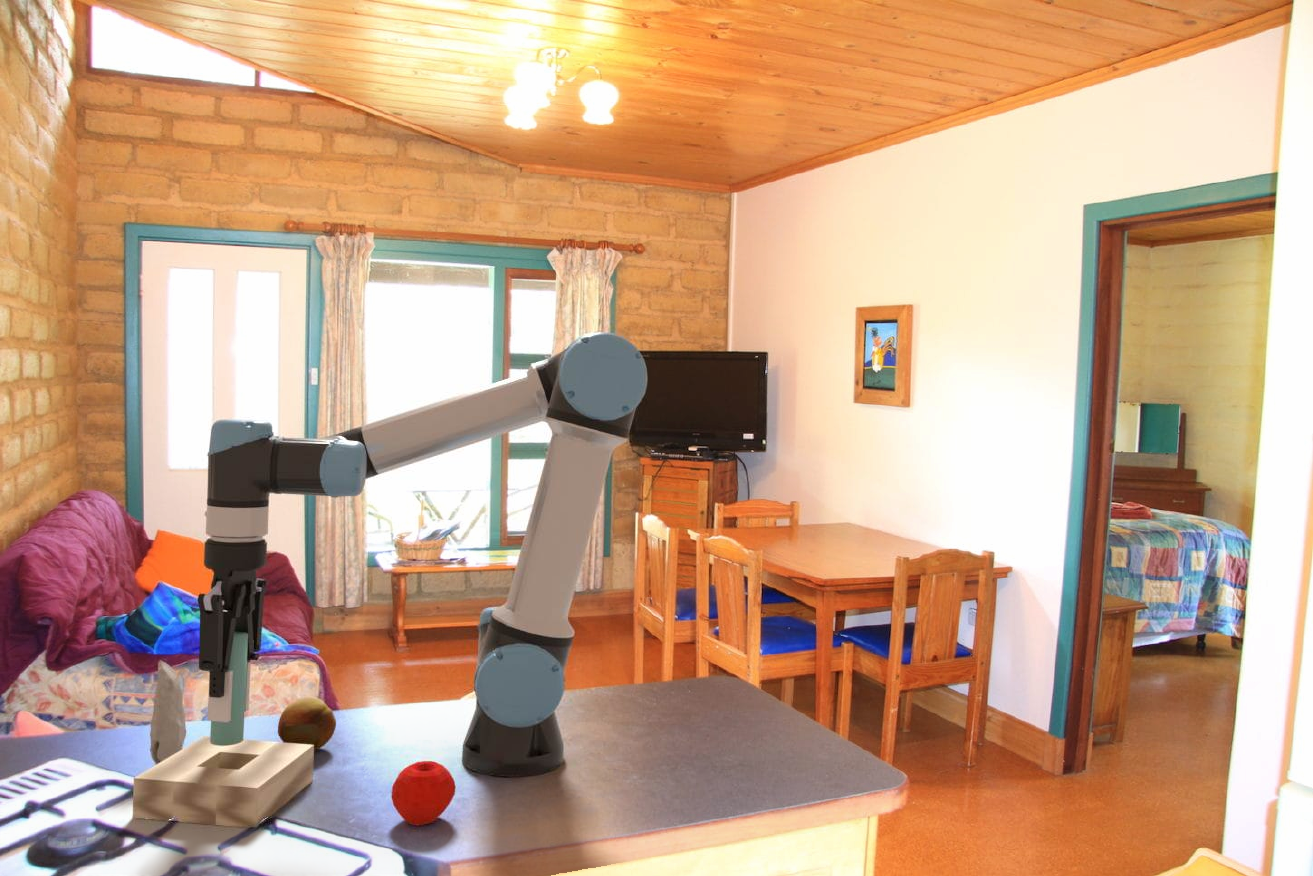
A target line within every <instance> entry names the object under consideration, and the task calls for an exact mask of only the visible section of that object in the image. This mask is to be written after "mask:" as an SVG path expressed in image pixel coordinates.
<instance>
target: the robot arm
mask: <svg viewBox="0 0 1313 876" xmlns="http://www.w3.org/2000/svg"><path fill="white" fill-rule="evenodd" d="M647 369H648V368H647V365H646V361H645V359H644V357H643V355H642V354H641V352H640V350H639V349H638V348H637V347H636V346H635V344H634V343H632V342H631V341H630V340H629V339H627V338H626V337H623V336H622V335H620V334H616V333H613V332H605V331H602V330H601V331H594V332H593V331H592V332H588V333H585V334H583V335H581V336H579V337H577V338H576V339H575V340H574V341H572V342H571V343H570V344H569V345H568V346H567V348H566V349H564V350H562V351H560V352H558V353H557V354H555V355H553V356H551V357H548V358H545V359H542V360H539V361H537V362H534V363H531V364H530V366H529V367H528V369H527V371H525V373H522V374H519V375H515V376H513V377H509V378H506V379H503V380H500V381H496V382H493V383H491V384H488V385H484V386H481V387H479V388H475V389H472V390H469V391H466V392H463V393H460V394H457V395H453V396H450V397H448V398H444V399H441V400H438V401H435V402H432V403H429V404H425V405H423V406H419V407H417V408H413V409H410V410H407V411H404V412H401V413H398V414H394V415H391V416H388V417H386V418H382V419H380V420H375V421H373V422H370V423H367V424H364V425H362V426H358V427H355V428H351V429H348V430H345V431H342V432H338V433H336V434H331V435H329V436H325V437H320V438H314V437H313V438H308V437H307V438H305V437H303V438H302V437H284V436H279V435H278V436H277V435H274V433H275V432H273V425H272V423H270V422H269V421H266V420H254V419H253V420H252V419H231V418H230V419H229V418H228V419H225V418H224V419H218V420H216V421H215V422H214V423H213V424H212V425H211V429H210V439H209V446H208V447H209V448H208V452H207V458H208V460H207V465H208V466H207V492H206V494H207V497H206V511H205V512H204V516H205V534H206V535H207V536H209V538H207V539H206V540H205V541H204V548H203V549H204V551H203V552H204V554H203V566H204V567H205V568H206V569H208V570H211V571H212V573H213V576H212V580H211V583H210V590H209V592H207V593H199V594H198V595H197V604H198V609H199V635H198V636H199V639H198V641H199V643H198V644H199V645H198V648H199V649H198V669H199V670H201V671H203V672H204V671H205V672H208V673H209V680H208V697H207V699H208V703H207V721H208V722H211V721H219V722H229V721H231V700H232V678H233V671H232V670H229V665H230V658H231V651H232V644H233V637H234V631H238V632H246V633H248V648H247V670H246V691H245V713H246V712H247V711H249V707H250V687H251V686H250V685H251V666H252V665H251V663H252V662H251V661H258V660H259V658H260V653H259V652H260V651H261V648H262V634H263V633H262V632H263V618H264V617H263V616H264V601H265V593H266V590H267V585H268V580H267V578H266V579H263V578H258V577H257V576H258V575H257V570H260V569H263V568H264V567H265V566H266V564H267V549H268V542H267V541H266V539H265V538H264V537H265V536H266V535H268V533H269V512H270V510H269V508H270V507H269V505H270V500H269V499H270V494H274V495H282V494H285V495H298V496H299V495H302V496H319V497H320V496H321V497H331V498H335V499H336V498H337V499H338V497H340V498H341V497H358V496H360V494H362V493H363V491H364V487H365V483H366V480H368V479H370V478H373V477H375V476H378V475H381V474H384V473H388V472H390V471H394V470H397V469H399V468H400V469H401V468H403V467H406V466H408V465H412V464H415V463H417V462H418V463H419V462H421V461H425V460H426V459H427V460H428V459H430V458H434V457H436V456H440V455H443V454H445V453H448V452H452V451H456V450H458V449H461V448H464V447H468V446H470V445H471V446H472V445H474V444H476V443H480V442H482V441H485V440H488V439H491V438H495V437H498V436H501V435H504V434H506V433H510V432H513V431H517V430H520V429H523V428H526V427H529V426H532V425H535V424H539V423H541V422H544V423H546V424H547V426H548V427H549V428H550V430H551V436H550V437H551V438H550V442H549V446H548V447H547V448H548V449H547V452H546V456H545V460H544V464H543V467H542V470H541V471H542V472H541V475H540V478H539V482H538V485H537V489H536V493H535V496H534V499H533V504H532V508H531V511H530V515H529V519H528V523H527V525H526V530H525V534H524V538H523V541H522V544H521V548H520V551H519V554H518V559H517V564H516V567H515V570H514V574H513V578H512V580H511V581H512V582H511V584H510V588H509V592H508V595H507V600H506V602H505V603H503V604H502V605H500V606H490V607H486V608H484V609H483V610H482V611H481V612H480V616H479V623H478V625H477V629H478V645H477V647H478V650H477V659H476V660H477V661H476V667H475V668H476V671H475V673H474V678H473V685H474V687H473V691H474V693H475V697H476V698H475V699H476V702H475V703H476V705H475V710H474V713H473V715H472V718H471V721H470V724H469V727H468V729H467V732H466V734H465V737H464V740H463V743H462V751H461V753H462V754H461V755H462V758H461V761H462V764H463V765H464V766H465V767H467V768H468V769H470V770H472V771H474V772H478V773H480V774H484V775H489V776H495V777H496V776H497V777H526V776H534V775H539V774H544V773H547V772H550V771H552V770H554V769H556V768H558V767H559V766H560V765H561V764H562V763H563V762H562V760H563V761H564V751H565V749H564V747H565V745H564V741H563V737H562V733H561V729H560V726H559V723H558V719H557V716H556V711H555V710H557V708H558V706H559V704H560V703H561V700H562V698H563V695H564V693H565V689H566V688H565V687H566V684H565V682H566V677H565V670H566V666H567V663H568V659H569V656H570V652H571V648H572V644H573V641H574V636H575V633H576V632H575V630H574V628H573V626H572V625H571V622H570V621H569V613H570V609H571V605H572V602H573V598H574V595H575V591H576V587H577V583H578V580H579V576H580V573H581V570H582V569H581V568H582V566H583V565H582V564H583V561H584V558H585V554H586V550H587V547H588V543H589V539H590V536H591V532H592V529H593V525H594V520H595V517H596V513H597V511H598V506H599V503H600V499H601V496H602V492H603V488H604V485H605V480H606V478H607V473H608V469H609V465H610V463H611V458H612V455H613V451H614V450H615V449H616V448H617V447H619V446H621V445H624V443H626V442H627V441H628V438H629V434H630V430H631V426H632V423H633V421H634V416H635V413H636V409H637V407H638V406H639V404H640V403H641V402H642V399H643V398H644V396H645V394H646V391H647V387H648V370H647ZM561 762H562V763H561ZM560 763H561V764H560ZM559 764H560V765H559ZM558 765H559V766H558ZM557 766H558V767H557ZM555 767H556V768H555ZM553 768H554V769H553ZM551 769H552V770H551ZM549 770H550V771H549Z"/></svg>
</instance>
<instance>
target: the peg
mask: <svg viewBox="0 0 1313 876" xmlns="http://www.w3.org/2000/svg"><path fill="white" fill-rule="evenodd" d="M247 648H248V633H246V632H238V631H234V637H233V644H232V651H231V658H230V665H229V670H232V671H233V678H232V700H231V721H229V722H219V721H210V736H209V737H210V743H211V744H213V745H218V746H228V745H234V744H238V743H240V742H242V741H243V739H244V732H245V731H244V730H245V729H244V728H245V713H246V712H245V691H246V670H247Z"/></svg>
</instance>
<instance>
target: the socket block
mask: <svg viewBox="0 0 1313 876" xmlns="http://www.w3.org/2000/svg"><path fill="white" fill-rule="evenodd" d="M314 753H315V751H314V745H309V744H296V743H283V741H282V742H281V741H279V742H278V741H267V740H255V739H244V738H243V741H242V742H240V743H238V744H234V745H228V746H218V745H213V744H211V743H210V736H202V737H201V738H199V739H197V740H195V741H193V742H192V743H191V744H189V745H186V746H185V747H183V748H182V750H180V751H179V752H177V753H175V754H174V755H172V756H170V757H168V758H167V759H165V760H163V761H162V762H160V763H158V764H157V765H156V764H155V765H153V766H152V767H150V768H148V769H147V770H145V771H143V772H141V773H140V774H138V775H136V776H135V777H134V778H133V791H132V793H133V795H132V819H140V818H142V819H141V820H151V819H155V820H154V821H163V820H169V819H172V818H177V819H178V821H179V822H178V823H186V824H187V823H189V824H201V825H213V826H223V827H225V826H226V827H234V828H235V827H237V828H245V829H247V828H248V829H250V828H249V827H256V826H257V825H258V824H259V823H260V822H261V821H262V820H263V819H265V818H267V817H269V816H270V817H271V816H273V815H274V814H275V813H277V812H278V811H279V810H280V809H281V808H282V807H283V806H284V805H286V804H287V803H288V802H290V800H291V799H294V797H295V796H296V795H297V794H299V793H300V792H301V791H302V790H304V788H306V787H307V786H308V785H309V784H311V783H312V782H313V781H314V762H315V761H314V758H315V755H314ZM270 817H269V818H270ZM143 818H145V819H143ZM146 818H147V819H146Z"/></svg>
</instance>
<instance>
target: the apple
mask: <svg viewBox="0 0 1313 876" xmlns="http://www.w3.org/2000/svg"><path fill="white" fill-rule="evenodd" d="M456 789H457V787H456V782H455V780H454V777H453V775H452V774H451V771H449V769H447V768H446V766H444V765H443V764H441V763H438V762H437V761H431V760H423V761H417V762H415V763H412V764H409V765H408V766H406V767H405V768H403V769H402V770H401V771H400V772H399V773H398V775H397V777H396V779H395V780H394V783H393V785H392V787H391V801H392V804H393V807H394V808H395V810H396V811H397V813H398V814H399V816H400V817H401V818H402V819H403V820H404V821H405V822H406V823H407V824H410V825H412V826H423V825H427V824H430V823H432V822H434V821H436V820H437V819H438V818H439V817H441V815H442V814H443V813H444V812H445V811H446V809H447V808H448V807H449V805H450V804H451V802H452V800H453V798H454V797H455V794H456Z"/></svg>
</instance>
